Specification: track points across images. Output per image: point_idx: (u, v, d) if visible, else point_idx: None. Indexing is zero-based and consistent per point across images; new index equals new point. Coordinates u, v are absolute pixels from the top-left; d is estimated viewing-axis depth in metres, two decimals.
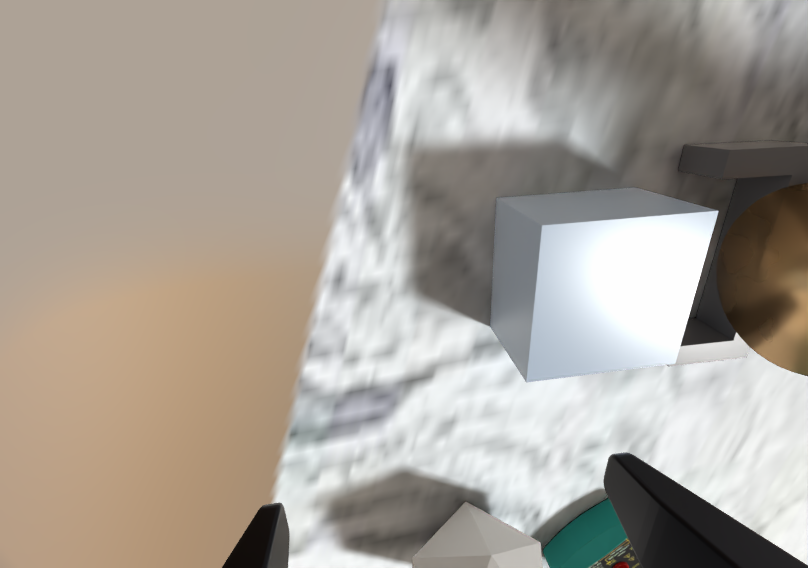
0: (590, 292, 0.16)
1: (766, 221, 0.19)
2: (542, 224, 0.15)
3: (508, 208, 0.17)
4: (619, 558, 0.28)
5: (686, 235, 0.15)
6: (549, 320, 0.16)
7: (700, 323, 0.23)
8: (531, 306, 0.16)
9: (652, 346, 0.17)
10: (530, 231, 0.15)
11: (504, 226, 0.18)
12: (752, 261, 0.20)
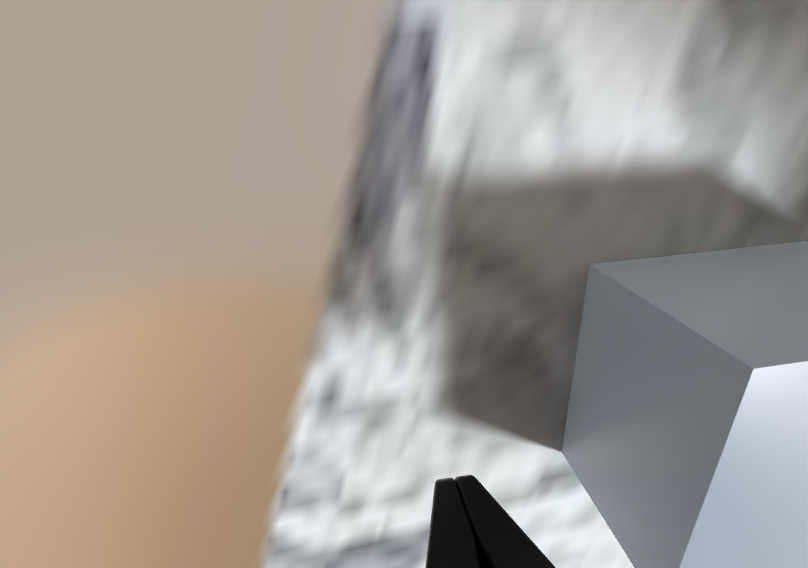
0: None
1: None
2: (751, 363, 0.07)
3: (623, 292, 0.10)
4: None
5: None
6: (724, 523, 0.08)
7: None
8: (692, 500, 0.08)
9: None
10: (701, 361, 0.08)
11: (608, 319, 0.10)
12: None
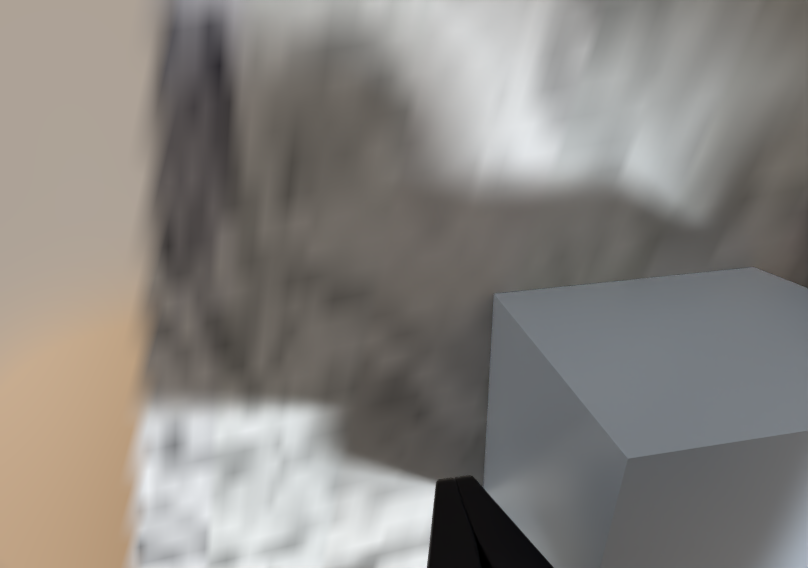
0: (725, 567, 0.07)
1: None
2: (627, 449, 0.05)
3: (521, 334, 0.08)
4: None
5: None
6: None
7: None
8: None
9: None
10: (583, 435, 0.06)
11: (512, 363, 0.09)
12: None
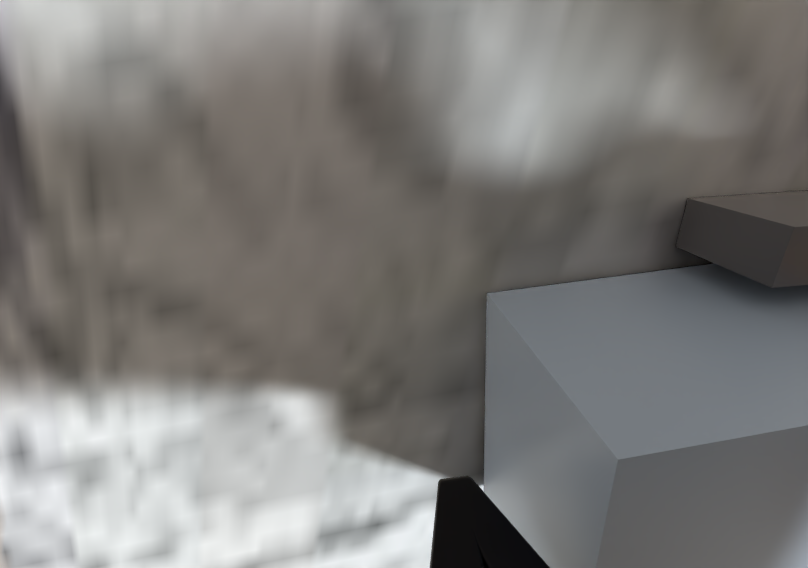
0: (723, 566, 0.06)
1: None
2: (617, 450, 0.05)
3: (514, 334, 0.08)
4: None
5: None
6: None
7: None
8: None
9: None
10: (575, 435, 0.06)
11: (506, 363, 0.09)
12: None
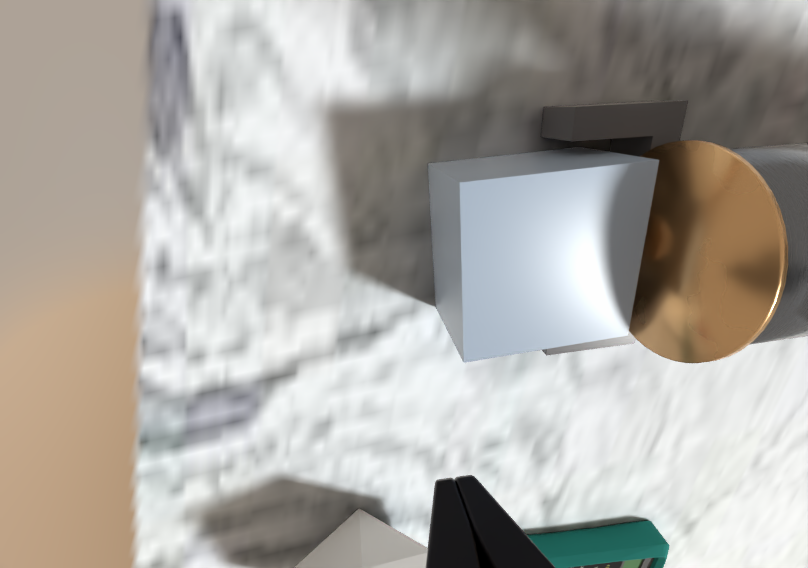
0: (524, 258, 0.14)
1: None
2: (461, 181, 0.13)
3: (436, 172, 0.16)
4: None
5: (626, 190, 0.14)
6: (481, 291, 0.15)
7: None
8: (460, 277, 0.14)
9: (600, 317, 0.16)
10: (452, 192, 0.14)
11: (435, 194, 0.17)
12: None
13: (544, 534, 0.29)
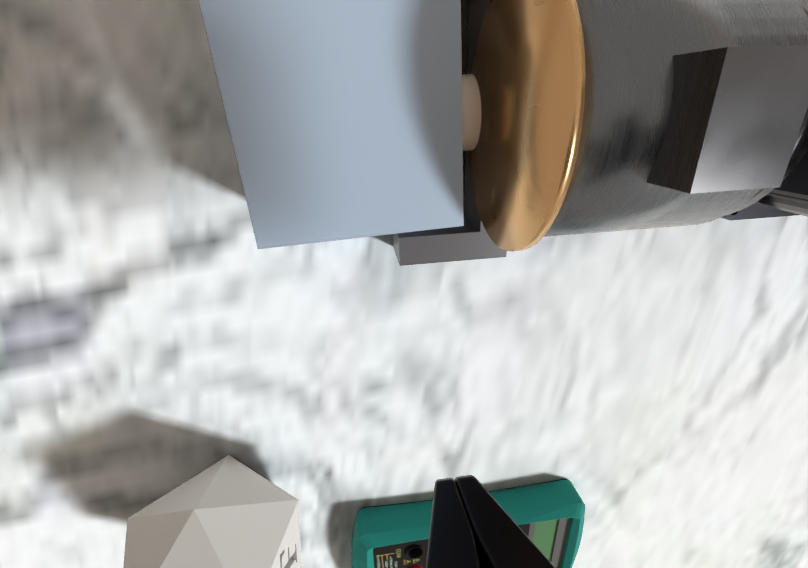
0: (306, 109, 0.12)
1: (484, 58, 0.14)
2: None
3: None
4: (401, 567, 0.25)
5: (423, 20, 0.11)
6: (260, 152, 0.12)
7: None
8: (232, 133, 0.12)
9: (423, 198, 0.13)
10: None
11: None
12: (481, 119, 0.15)
13: None
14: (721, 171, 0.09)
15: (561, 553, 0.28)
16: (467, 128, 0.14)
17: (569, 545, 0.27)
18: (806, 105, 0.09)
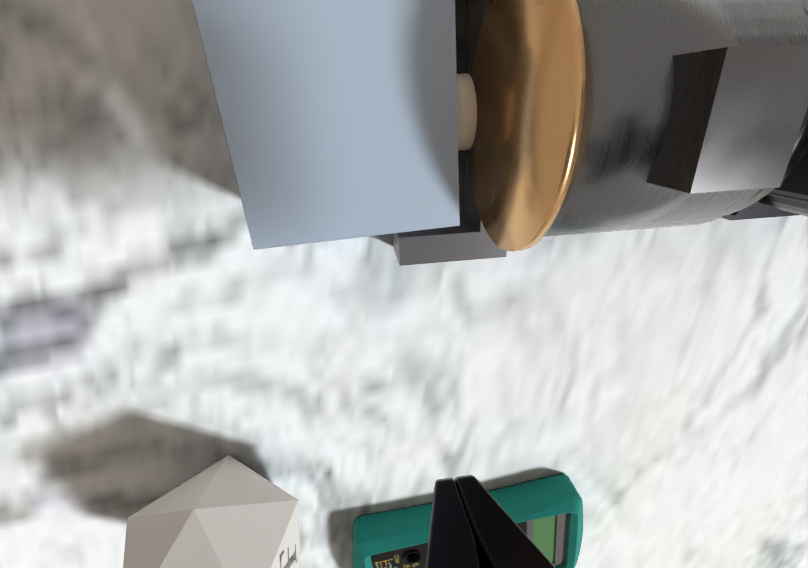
0: (301, 109, 0.12)
1: (484, 58, 0.14)
2: None
3: None
4: None
5: (417, 20, 0.11)
6: (254, 153, 0.12)
7: (461, 220, 0.18)
8: (227, 134, 0.12)
9: (419, 198, 0.13)
10: None
11: None
12: (481, 119, 0.15)
13: None
14: (721, 171, 0.09)
15: (564, 548, 0.27)
16: (463, 127, 0.14)
17: (570, 540, 0.27)
18: (806, 105, 0.09)
